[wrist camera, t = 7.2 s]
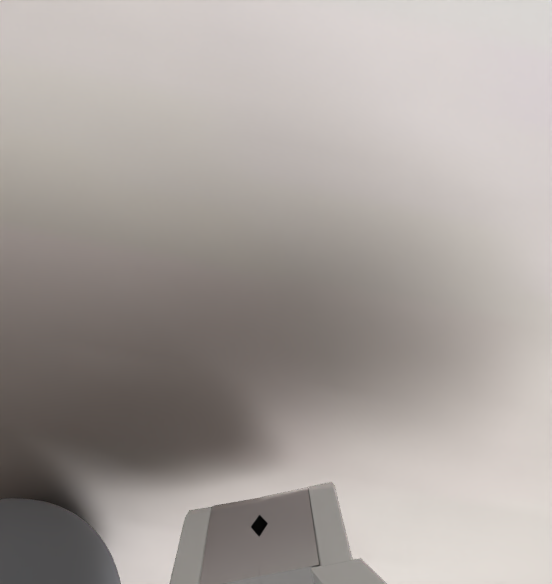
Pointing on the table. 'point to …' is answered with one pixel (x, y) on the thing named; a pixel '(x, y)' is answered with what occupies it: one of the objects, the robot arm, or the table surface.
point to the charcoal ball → (50, 546)
